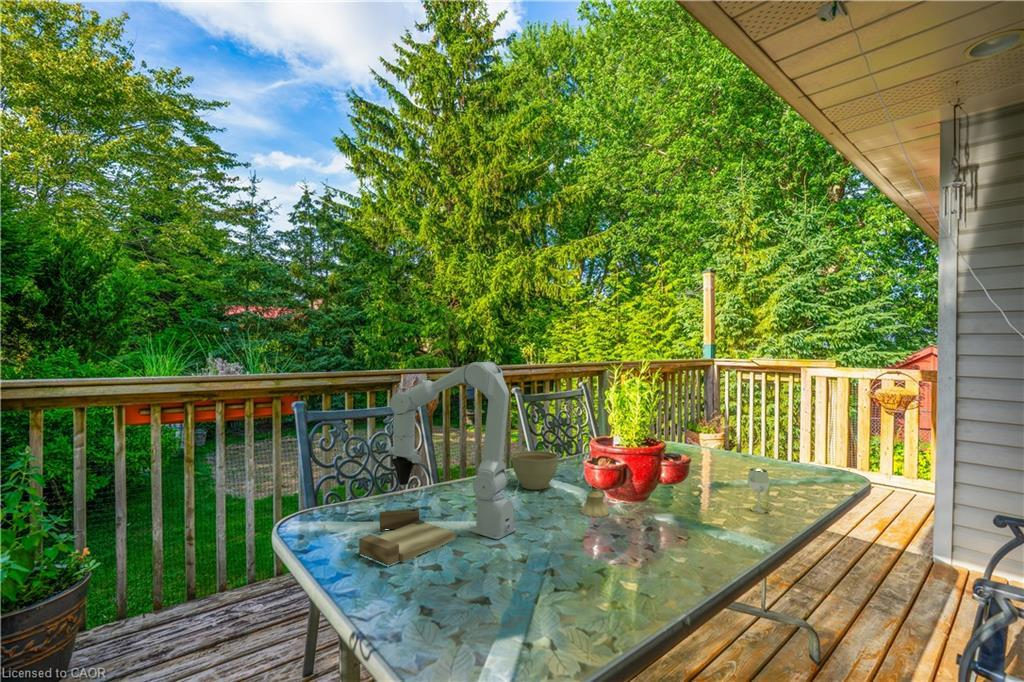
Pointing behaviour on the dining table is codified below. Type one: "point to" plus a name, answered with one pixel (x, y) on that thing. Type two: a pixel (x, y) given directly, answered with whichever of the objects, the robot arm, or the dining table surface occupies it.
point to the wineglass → (758, 483)
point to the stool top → (405, 542)
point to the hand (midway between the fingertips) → (403, 484)
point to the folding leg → (398, 518)
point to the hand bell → (594, 501)
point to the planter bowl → (534, 468)
